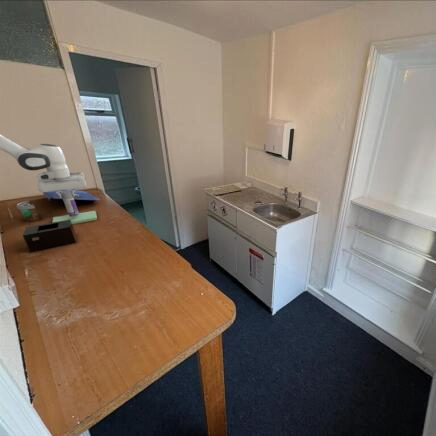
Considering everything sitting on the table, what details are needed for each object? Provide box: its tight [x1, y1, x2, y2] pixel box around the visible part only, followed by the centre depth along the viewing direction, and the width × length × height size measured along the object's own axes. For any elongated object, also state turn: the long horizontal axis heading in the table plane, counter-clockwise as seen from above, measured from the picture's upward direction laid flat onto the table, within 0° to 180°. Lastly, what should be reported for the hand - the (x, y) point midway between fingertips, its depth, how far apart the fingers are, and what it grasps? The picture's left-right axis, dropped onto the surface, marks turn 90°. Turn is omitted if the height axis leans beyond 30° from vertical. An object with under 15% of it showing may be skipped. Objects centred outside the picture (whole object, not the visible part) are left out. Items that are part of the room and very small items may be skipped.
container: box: [61, 191, 80, 217], centre depth 138 cm, size 5×5×15 cm
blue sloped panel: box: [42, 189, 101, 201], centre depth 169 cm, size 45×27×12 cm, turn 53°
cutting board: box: [51, 210, 98, 225], centre depth 142 cm, size 20×14×2 cm
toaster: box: [22, 220, 77, 253], centre depth 114 cm, size 16×12×9 cm
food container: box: [16, 200, 40, 222], centre depth 138 cm, size 12×6×10 cm, turn 55°
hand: (67, 197), depth 136 cm, fingers closed on container, 3 cm apart
